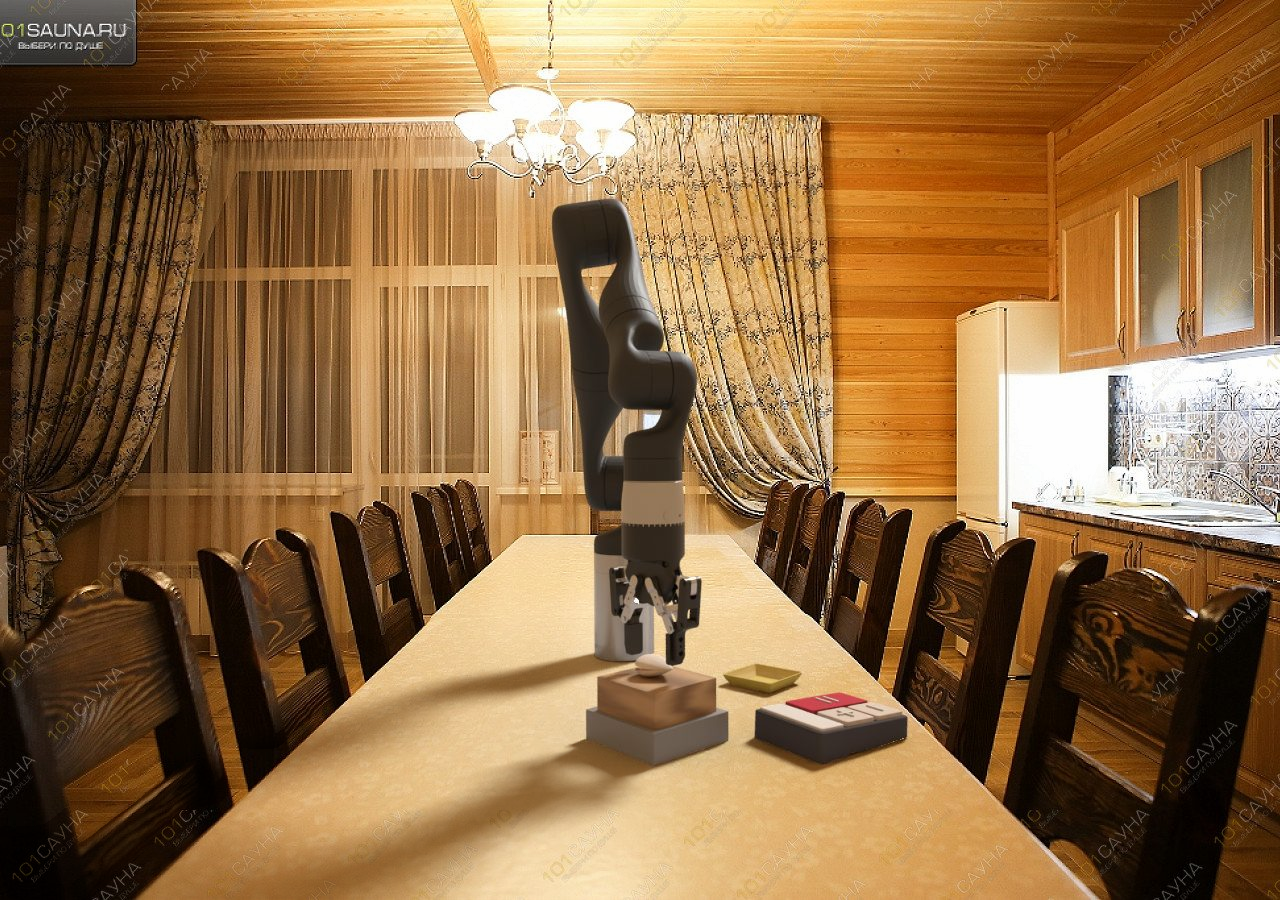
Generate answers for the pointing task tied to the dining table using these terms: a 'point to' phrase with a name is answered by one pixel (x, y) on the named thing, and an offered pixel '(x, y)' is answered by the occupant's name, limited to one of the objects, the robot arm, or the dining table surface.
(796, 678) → the yellow shallow square tray
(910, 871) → the dining table surface
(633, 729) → the tower base block
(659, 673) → the pistachio nut
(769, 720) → the calculator
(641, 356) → the robot arm
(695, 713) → the tower top block
